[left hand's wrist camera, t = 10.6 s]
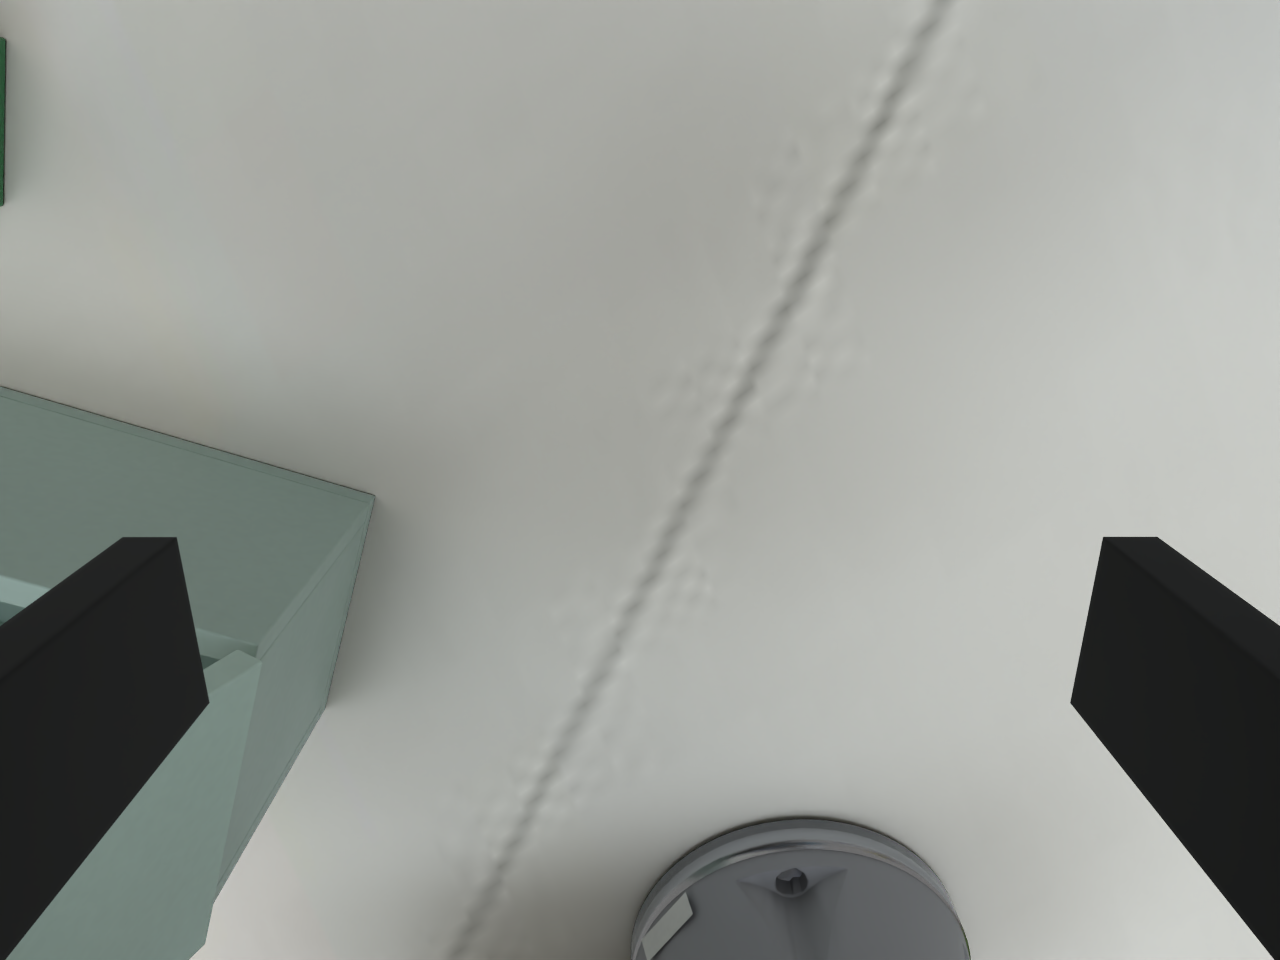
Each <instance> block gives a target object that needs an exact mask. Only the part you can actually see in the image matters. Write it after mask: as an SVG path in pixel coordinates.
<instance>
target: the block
mask: <svg viewBox="0 0 1280 960" xmlns="http://www.w3.org/2000/svg"><path fill="white" fill-rule="evenodd" d="M4 102H5V39H4V38H2V37H0V206H3V169H4Z"/></svg>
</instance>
